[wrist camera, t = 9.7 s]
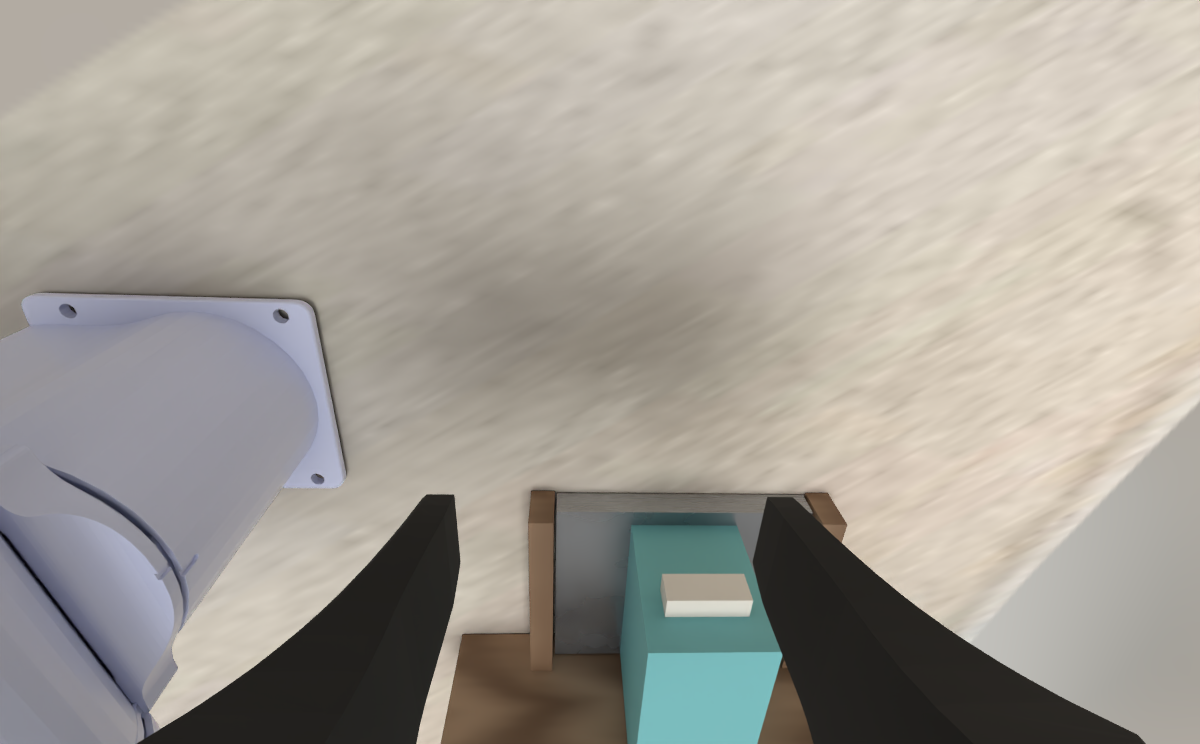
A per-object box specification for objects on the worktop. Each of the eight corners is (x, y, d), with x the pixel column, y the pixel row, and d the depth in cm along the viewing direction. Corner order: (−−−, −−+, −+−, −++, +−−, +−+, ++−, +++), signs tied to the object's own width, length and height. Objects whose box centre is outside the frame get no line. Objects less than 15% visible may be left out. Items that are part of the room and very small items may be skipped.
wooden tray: (464, 654, 29) (440, 784, 24) (448, 490, 24) (413, 606, 19) (847, 651, 30) (906, 774, 25) (904, 493, 25) (993, 604, 20)
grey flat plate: (555, 632, 28) (554, 654, 27) (557, 493, 24) (556, 511, 23) (767, 631, 29) (774, 652, 28) (803, 494, 25) (813, 513, 24)
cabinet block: (620, 652, 27) (631, 789, 22) (632, 510, 24) (650, 636, 18) (711, 651, 28) (744, 786, 22) (739, 511, 24) (788, 635, 18)
